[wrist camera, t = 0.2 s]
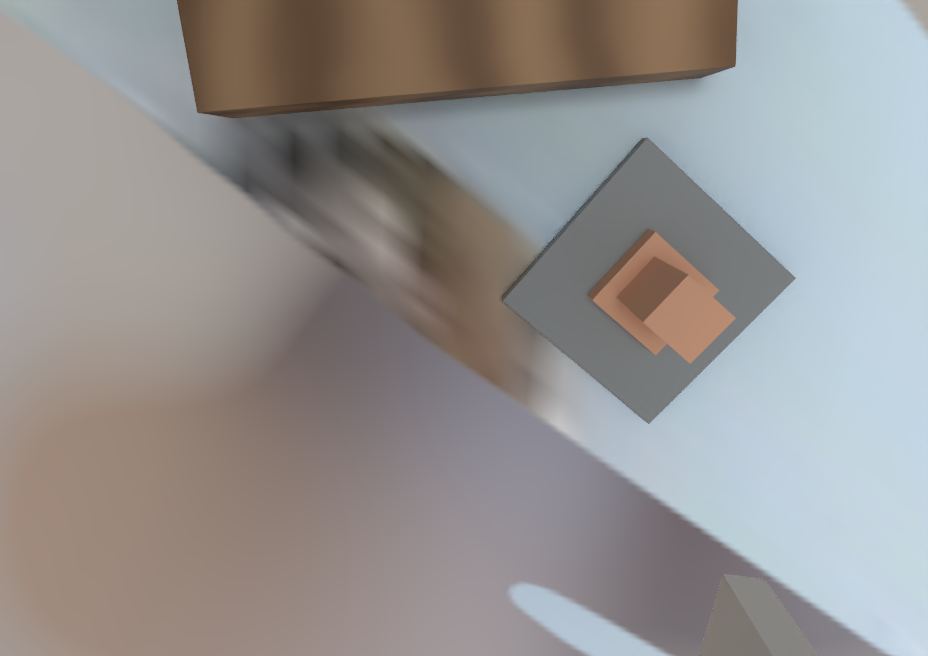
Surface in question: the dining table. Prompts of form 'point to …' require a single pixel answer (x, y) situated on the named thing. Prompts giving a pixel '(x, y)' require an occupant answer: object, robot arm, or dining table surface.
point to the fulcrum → (647, 282)
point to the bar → (440, 49)
